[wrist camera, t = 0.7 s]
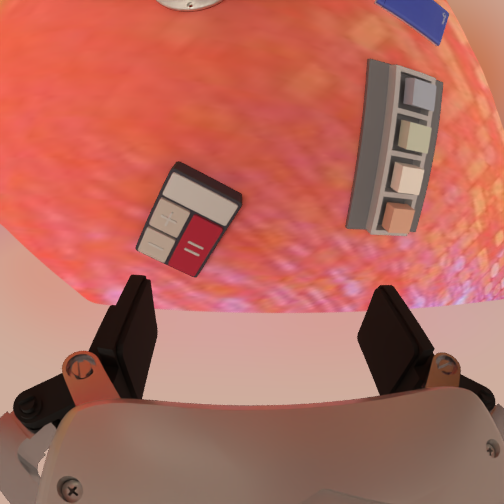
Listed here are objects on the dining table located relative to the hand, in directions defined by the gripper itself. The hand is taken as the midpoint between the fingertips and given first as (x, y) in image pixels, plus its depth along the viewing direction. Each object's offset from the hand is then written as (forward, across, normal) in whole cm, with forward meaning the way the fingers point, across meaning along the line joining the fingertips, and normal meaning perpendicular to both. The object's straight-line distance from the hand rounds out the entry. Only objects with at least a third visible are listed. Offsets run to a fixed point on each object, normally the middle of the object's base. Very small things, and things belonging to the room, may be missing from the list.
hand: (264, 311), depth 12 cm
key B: (+30, -24, +6) cm, 39 cm away
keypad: (+33, -24, -4) cm, 41 cm away
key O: (+30, -24, -1) cm, 38 cm away
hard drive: (+33, -24, -30) cm, 50 cm away
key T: (+29, -23, -14) cm, 40 cm away
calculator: (+33, +8, +10) cm, 36 cm away
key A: (+30, -24, -7) cm, 38 cm away
